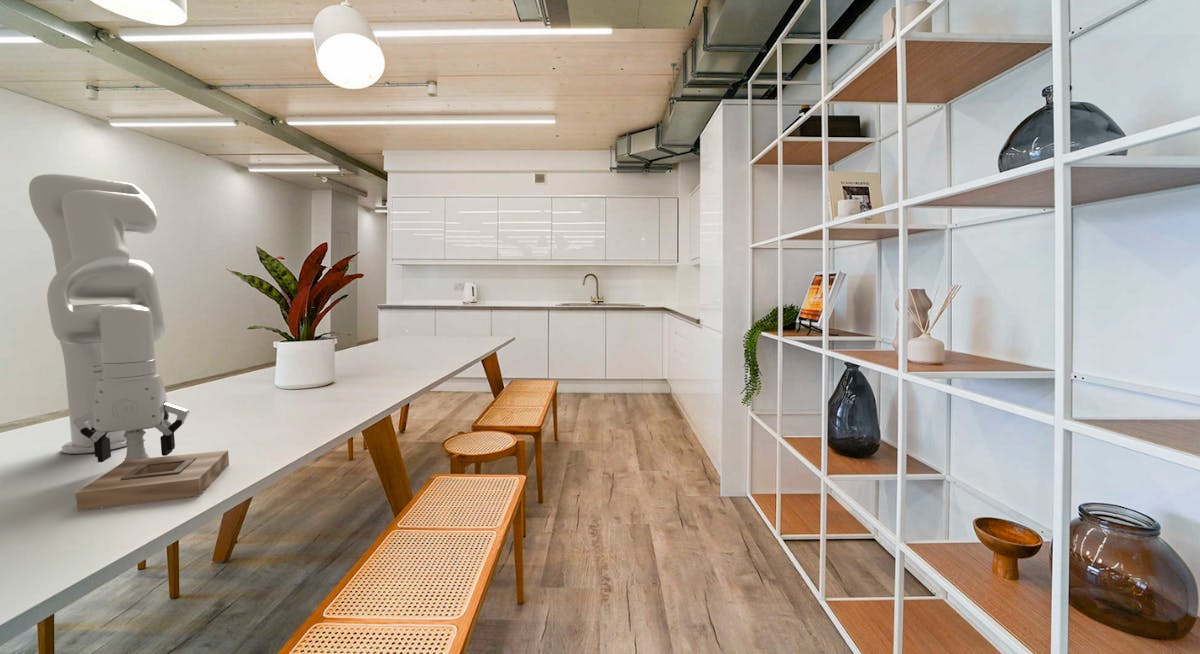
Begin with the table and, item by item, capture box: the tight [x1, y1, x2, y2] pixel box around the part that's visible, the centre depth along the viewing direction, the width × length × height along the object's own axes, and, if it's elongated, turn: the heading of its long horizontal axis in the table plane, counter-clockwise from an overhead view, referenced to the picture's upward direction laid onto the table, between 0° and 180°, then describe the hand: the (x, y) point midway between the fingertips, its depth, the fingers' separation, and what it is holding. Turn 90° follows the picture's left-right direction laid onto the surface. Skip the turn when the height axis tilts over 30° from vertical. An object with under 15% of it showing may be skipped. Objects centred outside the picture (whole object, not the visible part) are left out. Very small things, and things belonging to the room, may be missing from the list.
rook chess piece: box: [121, 429, 151, 463], centre depth 98 cm, size 4×4×8 cm
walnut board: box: [75, 449, 230, 512], centre depth 90 cm, size 16×16×3 cm
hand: (136, 456), depth 98 cm, fingers open, 9 cm apart
